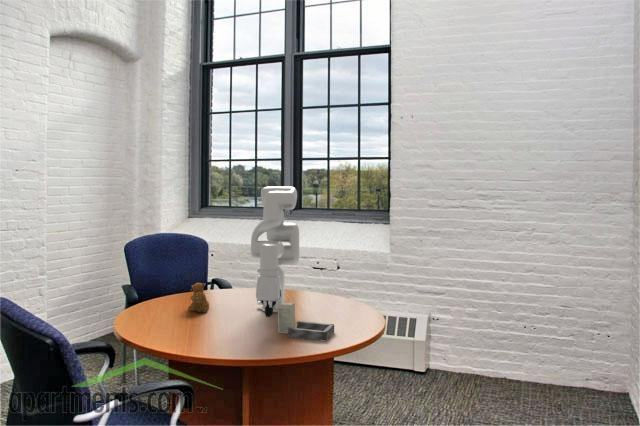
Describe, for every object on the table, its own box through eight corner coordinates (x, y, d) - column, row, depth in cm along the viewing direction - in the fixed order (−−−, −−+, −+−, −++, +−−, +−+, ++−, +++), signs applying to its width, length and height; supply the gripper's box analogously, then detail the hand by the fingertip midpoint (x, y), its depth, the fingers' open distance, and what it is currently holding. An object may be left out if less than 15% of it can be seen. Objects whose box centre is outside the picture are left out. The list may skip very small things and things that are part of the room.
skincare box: (295, 331, 217) (295, 302, 216) (291, 334, 213) (291, 305, 212) (281, 330, 219) (281, 301, 219) (277, 332, 215) (277, 303, 214)
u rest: (287, 336, 210) (287, 328, 209) (298, 328, 221) (298, 320, 221) (325, 341, 205) (325, 332, 205) (334, 332, 216) (334, 324, 216)
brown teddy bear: (207, 306, 259) (207, 280, 258) (213, 313, 246) (213, 285, 245) (187, 308, 255) (187, 281, 254) (191, 315, 242) (191, 287, 241)
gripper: (249, 273, 216) (248, 316, 217) (282, 275, 211) (282, 320, 212) (256, 270, 223) (256, 312, 224) (289, 272, 218) (288, 315, 219)
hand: (269, 316), depth 218 cm, fingers closed
